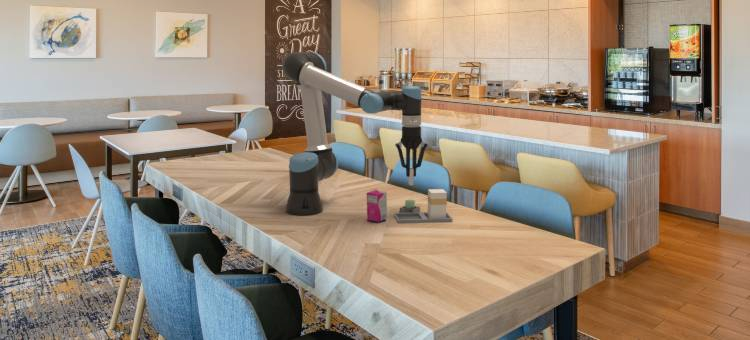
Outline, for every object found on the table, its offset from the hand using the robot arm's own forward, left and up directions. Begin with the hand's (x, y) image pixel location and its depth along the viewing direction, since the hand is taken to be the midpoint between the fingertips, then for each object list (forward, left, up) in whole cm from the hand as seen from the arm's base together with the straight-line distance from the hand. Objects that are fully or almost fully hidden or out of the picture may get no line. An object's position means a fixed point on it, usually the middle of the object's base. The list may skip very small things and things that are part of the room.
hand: (410, 184), depth 232 cm
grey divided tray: (+9, -6, -13) cm, 16 cm away
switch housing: (0, 0, -13) cm, 13 cm away
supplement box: (-7, -15, -13) cm, 21 cm away
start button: (0, 0, -11) cm, 11 cm away
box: (+13, -2, -12) cm, 17 cm away
